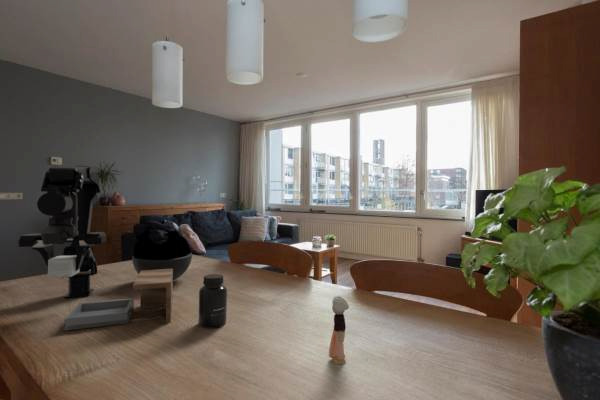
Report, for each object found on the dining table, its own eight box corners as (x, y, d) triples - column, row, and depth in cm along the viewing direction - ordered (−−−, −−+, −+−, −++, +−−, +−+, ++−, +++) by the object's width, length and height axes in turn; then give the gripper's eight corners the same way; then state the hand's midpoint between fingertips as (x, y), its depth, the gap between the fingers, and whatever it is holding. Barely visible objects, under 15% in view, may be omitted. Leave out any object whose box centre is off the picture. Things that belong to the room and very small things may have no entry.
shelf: (140, 305, 91) (140, 270, 91) (172, 302, 94) (172, 268, 94) (132, 326, 77) (133, 285, 77) (170, 322, 80) (170, 282, 80)
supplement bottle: (219, 330, 76) (219, 280, 76) (193, 327, 77) (193, 278, 77) (231, 319, 83) (231, 273, 82) (206, 317, 84) (207, 271, 84)
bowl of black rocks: (203, 281, 118) (203, 230, 117) (151, 294, 102) (151, 236, 101) (172, 272, 130) (172, 226, 129) (121, 283, 113) (121, 231, 113)
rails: (73, 317, 83) (73, 316, 83) (168, 307, 91) (168, 306, 91) (62, 329, 75) (62, 328, 75) (167, 317, 83) (167, 316, 83)
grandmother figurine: (325, 350, 67) (326, 290, 66) (343, 350, 67) (344, 290, 67) (332, 371, 59) (333, 303, 59) (352, 370, 59) (353, 303, 59)
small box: (56, 272, 88) (57, 255, 88) (80, 272, 90) (80, 255, 90) (46, 277, 83) (47, 259, 83) (72, 277, 85) (72, 258, 85)
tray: (79, 313, 85) (79, 303, 85) (134, 308, 89) (134, 298, 89) (64, 330, 74) (64, 318, 74) (127, 323, 79) (127, 312, 79)
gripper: (5, 215, 76) (5, 280, 76) (95, 215, 82) (95, 275, 82) (28, 213, 86) (28, 270, 87) (106, 212, 92) (106, 266, 92)
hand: (64, 270), depth 87 cm, fingers closed on small box, 6 cm apart
